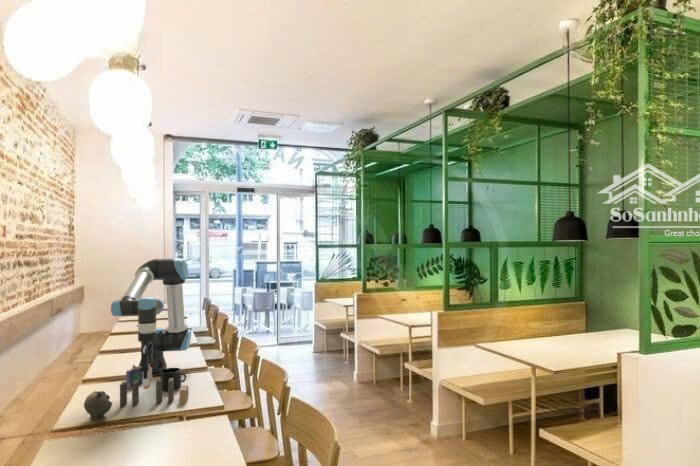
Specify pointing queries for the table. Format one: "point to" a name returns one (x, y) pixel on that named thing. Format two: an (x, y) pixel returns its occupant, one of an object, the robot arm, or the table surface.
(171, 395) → the domino
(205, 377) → the table surface
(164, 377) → the mug
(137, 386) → the domino
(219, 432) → the table surface
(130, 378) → the flask
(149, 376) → the domino
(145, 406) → the table surface
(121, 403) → the domino
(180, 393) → the bookend
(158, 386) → the domino
